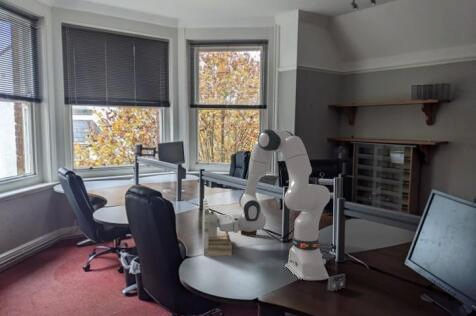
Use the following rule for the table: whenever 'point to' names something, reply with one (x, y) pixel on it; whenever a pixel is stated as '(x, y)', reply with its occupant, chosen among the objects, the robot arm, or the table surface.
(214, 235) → the cabinet block
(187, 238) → the table surface
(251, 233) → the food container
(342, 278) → the mini dv tape
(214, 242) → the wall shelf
